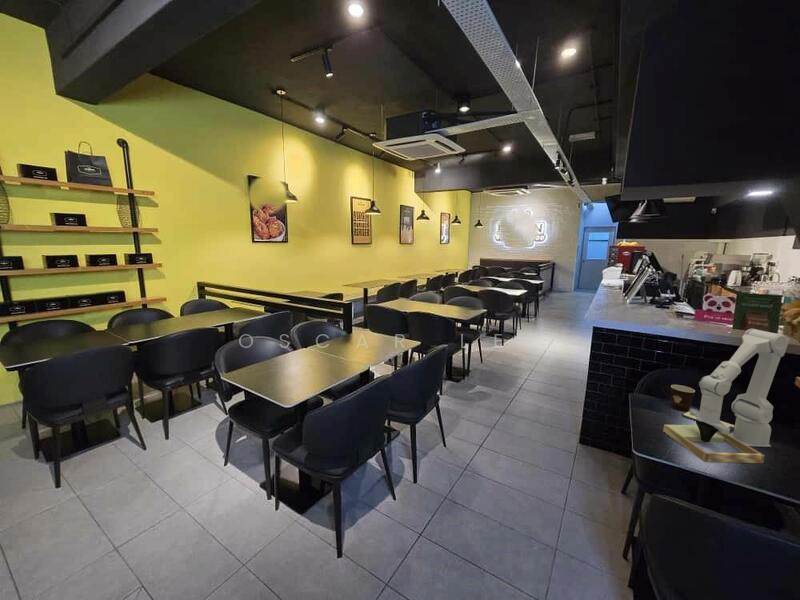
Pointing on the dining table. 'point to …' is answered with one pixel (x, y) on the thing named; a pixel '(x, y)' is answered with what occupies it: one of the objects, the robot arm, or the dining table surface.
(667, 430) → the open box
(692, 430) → the cover plate
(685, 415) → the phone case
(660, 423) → the dining table surface
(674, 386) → the coffee mug
